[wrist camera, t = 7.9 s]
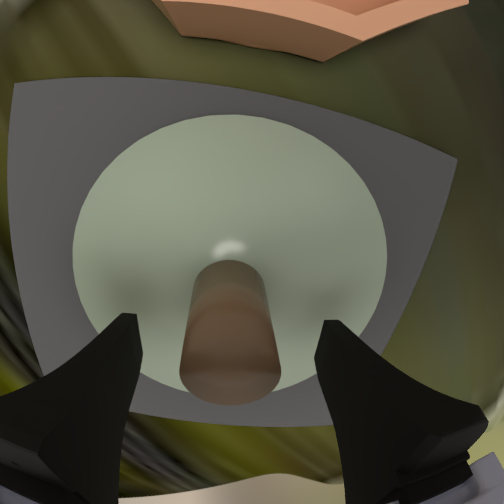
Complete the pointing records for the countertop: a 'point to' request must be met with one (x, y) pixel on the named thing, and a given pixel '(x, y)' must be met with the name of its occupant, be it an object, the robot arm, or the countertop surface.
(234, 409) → the rubber mat
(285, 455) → the countertop surface
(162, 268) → the lid
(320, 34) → the bowl
